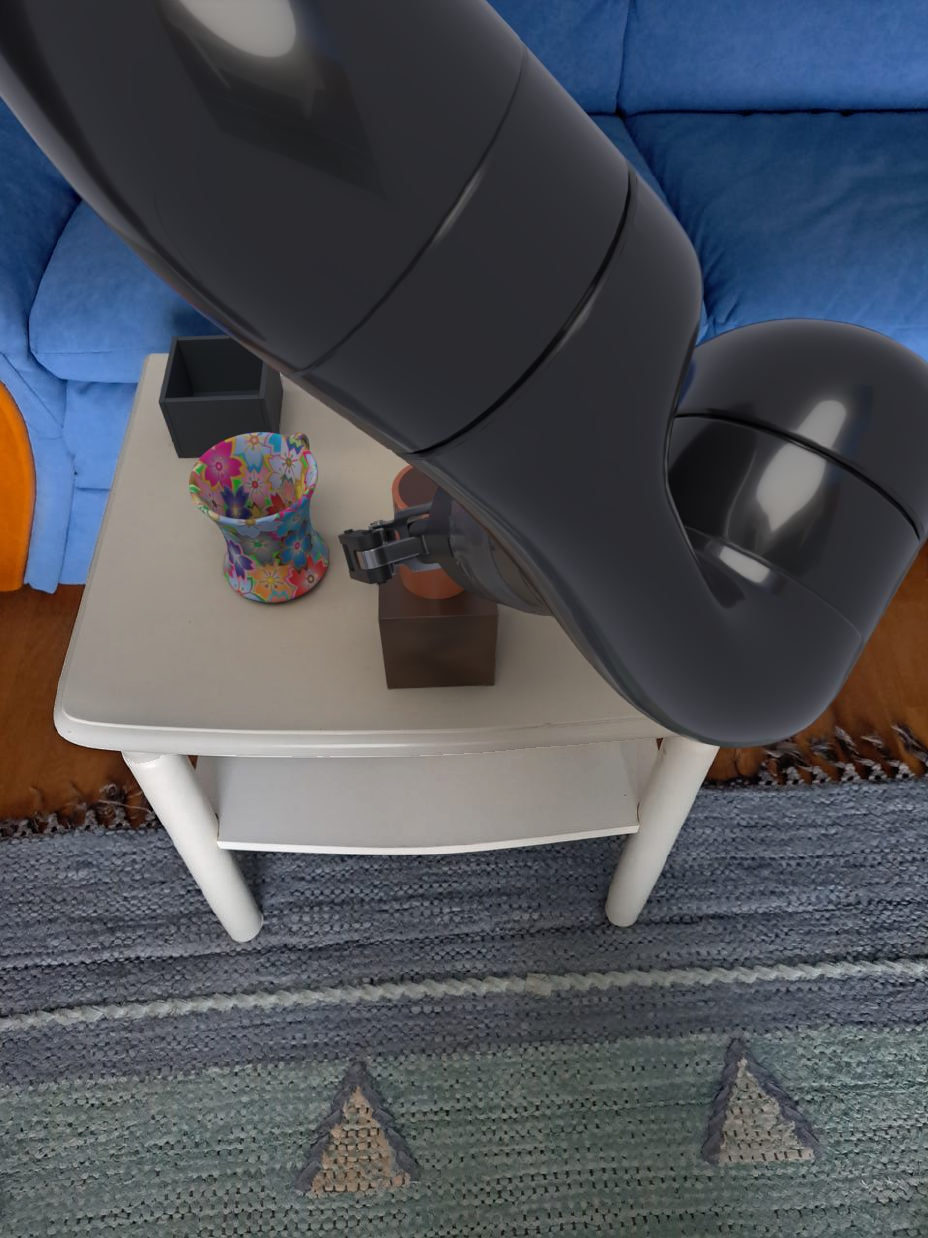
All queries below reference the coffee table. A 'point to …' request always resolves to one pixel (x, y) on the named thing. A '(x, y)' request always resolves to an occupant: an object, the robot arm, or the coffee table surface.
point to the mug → (263, 513)
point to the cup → (418, 490)
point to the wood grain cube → (436, 638)
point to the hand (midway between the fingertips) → (445, 520)
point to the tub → (217, 393)
